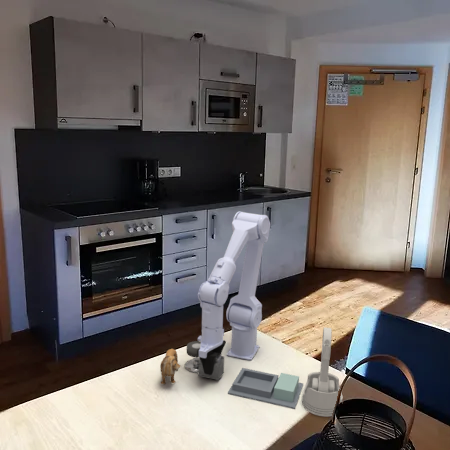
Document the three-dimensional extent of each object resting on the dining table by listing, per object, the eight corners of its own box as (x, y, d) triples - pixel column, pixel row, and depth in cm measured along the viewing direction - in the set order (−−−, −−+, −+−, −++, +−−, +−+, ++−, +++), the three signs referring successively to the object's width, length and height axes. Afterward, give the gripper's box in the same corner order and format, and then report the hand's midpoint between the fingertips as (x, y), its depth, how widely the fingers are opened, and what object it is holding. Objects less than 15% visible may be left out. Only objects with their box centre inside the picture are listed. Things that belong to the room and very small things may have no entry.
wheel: (191, 345, 140) (191, 339, 140) (210, 349, 138) (210, 343, 138) (183, 355, 134) (183, 348, 134) (202, 359, 133) (202, 352, 132)
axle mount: (190, 358, 142) (190, 351, 141) (212, 362, 139) (212, 356, 139) (180, 369, 135) (180, 362, 135) (203, 374, 133) (203, 367, 132)
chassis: (241, 371, 135) (241, 361, 134) (303, 384, 129) (304, 373, 129) (227, 393, 124) (227, 382, 123) (294, 409, 118) (295, 397, 117)
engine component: (301, 413, 117) (342, 419, 115) (306, 337, 112) (349, 342, 110) (302, 389, 127) (340, 394, 125) (308, 319, 123) (347, 323, 121)
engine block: (204, 368, 134) (204, 349, 133) (223, 372, 133) (224, 353, 131) (198, 375, 131) (198, 356, 129) (218, 380, 129) (219, 360, 127)
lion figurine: (180, 390, 125) (180, 359, 123) (160, 391, 124) (160, 360, 122) (178, 362, 139) (178, 334, 137) (160, 363, 138) (160, 335, 136)
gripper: (208, 312, 136) (207, 354, 139) (188, 333, 123) (187, 379, 126) (231, 316, 134) (229, 359, 137) (213, 337, 121) (212, 385, 124)
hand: (211, 369), depth 131 cm, fingers closed on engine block, 4 cm apart
